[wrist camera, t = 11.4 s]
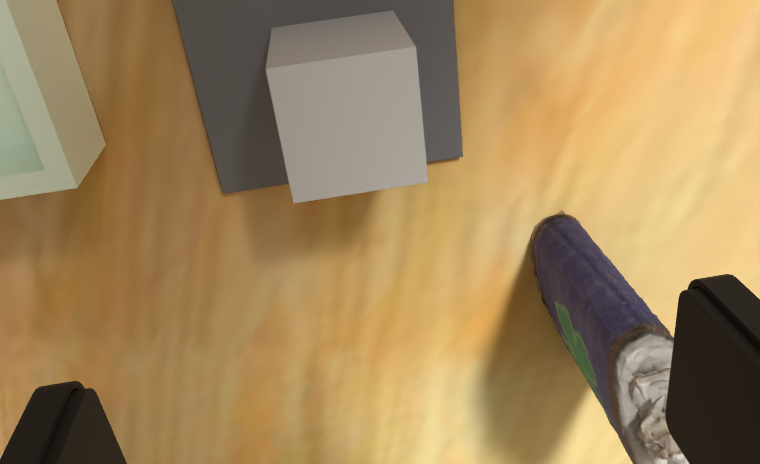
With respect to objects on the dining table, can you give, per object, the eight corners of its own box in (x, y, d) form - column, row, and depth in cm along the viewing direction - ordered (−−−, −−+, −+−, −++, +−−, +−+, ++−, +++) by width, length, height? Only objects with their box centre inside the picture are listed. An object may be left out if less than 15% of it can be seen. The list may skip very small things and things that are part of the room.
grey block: (393, 10, 25) (415, 46, 20) (405, 125, 27) (428, 182, 22) (271, 28, 25) (265, 68, 20) (293, 141, 27) (293, 203, 22)
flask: (621, 347, 34) (741, 527, 25) (567, 368, 35) (665, 554, 25) (577, 201, 30) (701, 354, 21) (515, 227, 30) (611, 389, 21)
